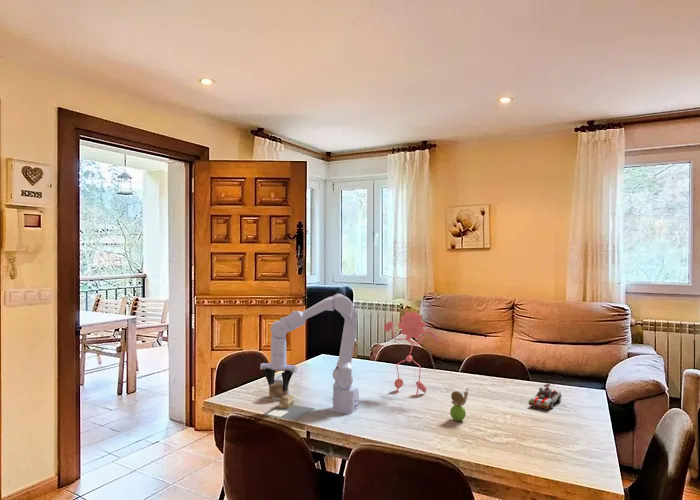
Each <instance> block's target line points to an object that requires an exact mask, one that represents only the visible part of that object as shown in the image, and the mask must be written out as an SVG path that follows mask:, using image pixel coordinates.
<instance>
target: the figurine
mask: <svg viewBox="0 0 700 500" xmlns="http://www.w3.org/2000/svg"><path fill="white" fill-rule="evenodd" d="M403 314H404V315H400V321H401V322H398V323H397V327H398V328H399V329H400V330H401V331H400V332H401V334H402V335H403V336H405V335H406V336H405V337H404V338H402V337H401V338H396V337H395V333H394V332H395V331H394V322H393V321H392V320H391V321H388V322H387V323H385V324H384V327H383V329H384V331H385V333H387V332H390V331H392V337H393V339H394V341H398V340H403V341H404V340H405V341H407V342H408V343H410V344H411V347H410V351H409V355H407V356H405V357H406V359H404V360H401V361H400V362H398V363H396V371H397V377H398V378H396V379H395V381H394V387H395V388H396V392H395V393H396V394H398V392H399V390H400V389H401V388H402V386H404V380H403V379H402V378H400V376H399V375H400V374H399V369H398V368H399V367H398V365H399V364H401V363H403V362H405V361H407V362H409V363H410V362H414V363H415V364H416V365H417V366H419V373H418V374H419V376H418V380H417V381H416V382H415V384H414V385H412V384H411V386H413V387H417V388H416V394H415V397H417V398H418V394H419V391H421V392H422V393H424V394H426V393H427V389H428V387H426V386H425V384H423V383H422V382H421V369H422V368H421V365H420V364H419V363H417V362H416V361H415V360H414V359H413V356H412V355H411V354H412V352H413V351H412V350H413V347H414V344H415V345H417V346H418V345H419V344H420V343H421V342H422V341H423V339H424V338H425V337H426V336H427V334H429V336H430V338H432V339H434V340H435V341H436V342H438V343H440V339H439V338H438V336H436V335H437V334H435V333H433V332H432V331H431V330H429V329H427V331H426V332H425V329H424V328H425V327H427V323H426V322H425V321H423V315H422V314H418V312H417V311H412V312H411V313H410V311H407V310H406V311H405V312H404V313H403ZM421 335H423V336H422V338H421V339H420V336H421ZM413 338H414V339H415V340H419V339H420V340H419V341H418V342H415V341H414V340H411V339H413Z"/></svg>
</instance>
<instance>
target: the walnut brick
mask: <svg viewBox="0 0 700 500" xmlns="http://www.w3.org/2000/svg"><path fill="white" fill-rule="evenodd" d="M268 388H269V389H268V397H271V398H273V397H278V398H282V397H284V396H285V395H287V394H288V389H287V391H283V383H279V382H275V383H273V384H272V385H270V386H269V385H268Z"/></svg>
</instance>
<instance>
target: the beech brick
mask: <svg viewBox="0 0 700 500" xmlns="http://www.w3.org/2000/svg"><path fill="white" fill-rule="evenodd" d="M294 397H295V396H294V395H293V394H289V395H288V394H287V395H285V396H284V397H282V398H279V401H278V403H279V407H281V408H287V409H289V408H290V407H292V406H294V405H295V404H294V403H295V400H294Z"/></svg>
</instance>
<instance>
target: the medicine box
mask: <svg viewBox="0 0 700 500" xmlns="http://www.w3.org/2000/svg"><path fill="white" fill-rule="evenodd" d="M275 382H279V383H283V379H282V374H280V375H278V376H277V377H274V383H275ZM288 395H290V383H289V384H288ZM272 401H278V402H279V398H278V397H272Z"/></svg>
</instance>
